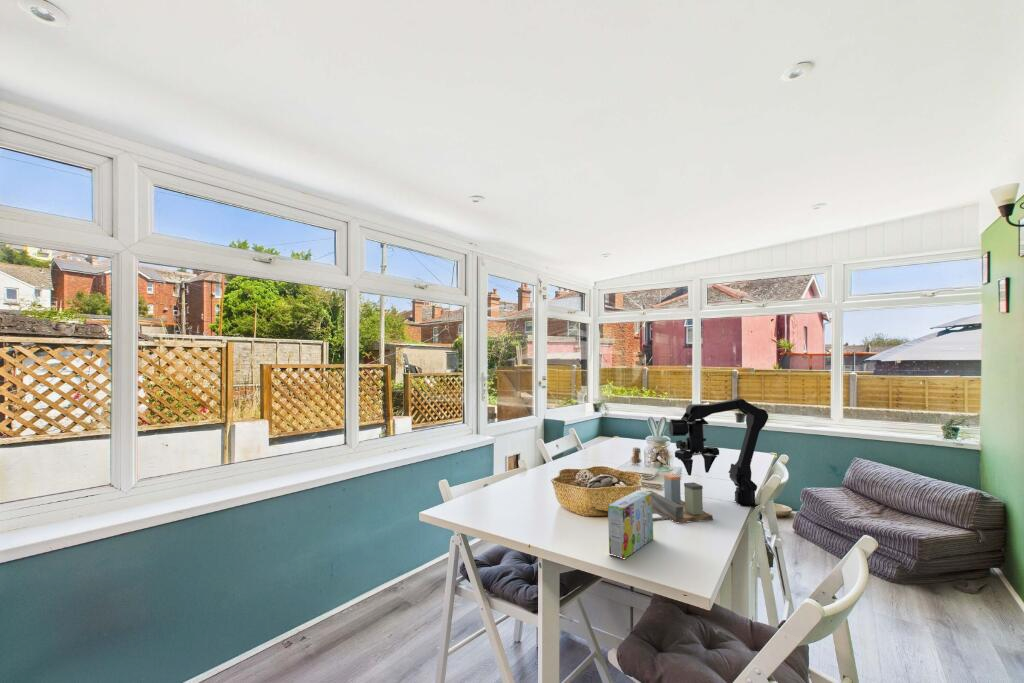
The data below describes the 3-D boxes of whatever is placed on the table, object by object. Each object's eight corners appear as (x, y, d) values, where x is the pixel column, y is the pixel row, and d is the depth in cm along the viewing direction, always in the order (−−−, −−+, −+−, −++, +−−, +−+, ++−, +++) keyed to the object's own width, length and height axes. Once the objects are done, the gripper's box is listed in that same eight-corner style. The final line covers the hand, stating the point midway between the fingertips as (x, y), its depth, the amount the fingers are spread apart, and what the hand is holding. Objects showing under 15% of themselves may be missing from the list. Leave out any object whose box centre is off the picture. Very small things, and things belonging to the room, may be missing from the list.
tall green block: (694, 509, 174) (693, 482, 175) (703, 514, 169) (702, 485, 170) (684, 510, 173) (684, 483, 174) (693, 515, 168) (692, 486, 169)
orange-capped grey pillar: (673, 499, 188) (673, 473, 188) (681, 503, 183) (680, 476, 183) (664, 500, 187) (663, 474, 187) (671, 503, 182) (671, 477, 182)
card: (650, 507, 182) (650, 506, 182) (669, 519, 169) (669, 517, 169) (631, 509, 181) (631, 508, 181) (649, 521, 167) (649, 519, 167)
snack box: (637, 535, 153) (637, 489, 154) (654, 539, 150) (653, 492, 151) (607, 555, 137) (607, 504, 138) (625, 560, 133) (624, 507, 134)
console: (678, 502, 190) (677, 488, 190) (712, 519, 168) (712, 504, 168) (644, 504, 186) (644, 491, 187) (675, 523, 165) (675, 507, 165)
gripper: (698, 431, 200) (700, 467, 200) (664, 435, 193) (666, 472, 192) (719, 434, 190) (721, 472, 189) (683, 438, 183) (685, 478, 182)
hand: (698, 473), depth 189 cm, fingers open, 9 cm apart
